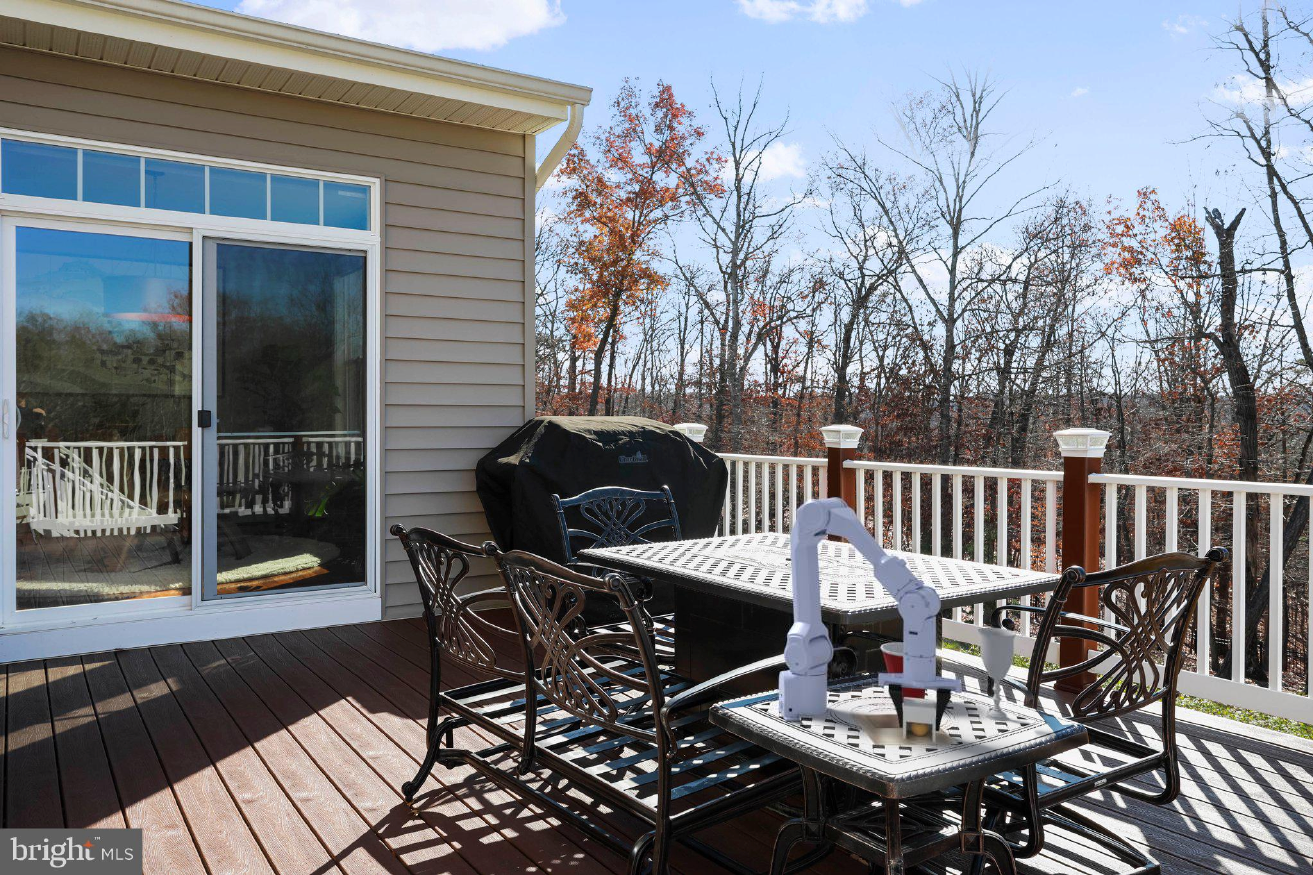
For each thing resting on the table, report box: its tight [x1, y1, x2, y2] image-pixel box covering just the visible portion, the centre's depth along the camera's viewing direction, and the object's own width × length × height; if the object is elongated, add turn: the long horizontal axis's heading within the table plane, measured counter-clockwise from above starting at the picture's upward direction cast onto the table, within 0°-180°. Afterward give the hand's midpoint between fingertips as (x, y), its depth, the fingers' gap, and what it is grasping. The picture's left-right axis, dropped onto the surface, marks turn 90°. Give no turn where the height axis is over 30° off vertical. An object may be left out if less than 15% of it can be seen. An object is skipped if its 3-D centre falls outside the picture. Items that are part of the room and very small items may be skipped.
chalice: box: [977, 627, 1017, 722], centre depth 167 cm, size 7×7×18 cm
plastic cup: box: [880, 642, 927, 702], centre depth 179 cm, size 11×11×12 cm
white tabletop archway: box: [903, 697, 936, 742], centre depth 156 cm, size 6×6×6 cm
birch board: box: [849, 713, 959, 746], centre depth 160 cm, size 15×17×1 cm
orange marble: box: [911, 722, 928, 736], centre depth 156 cm, size 3×3×3 cm
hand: (919, 727), depth 156 cm, fingers open, 6 cm apart
